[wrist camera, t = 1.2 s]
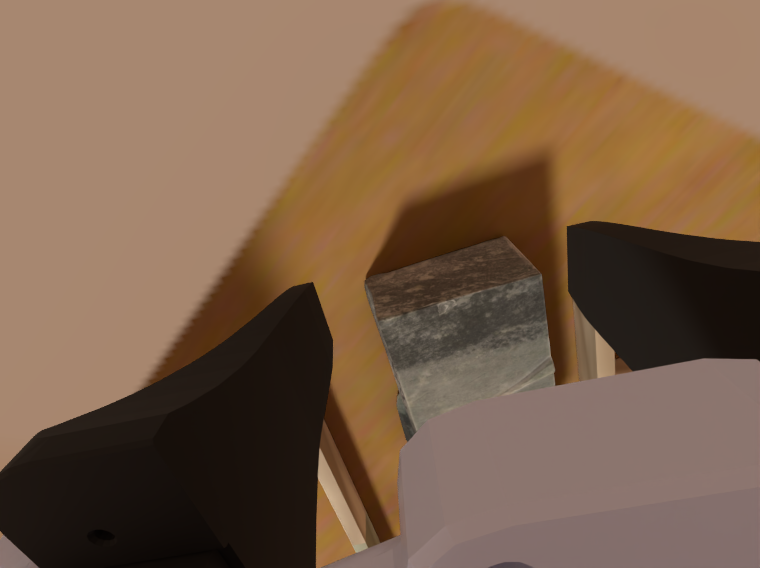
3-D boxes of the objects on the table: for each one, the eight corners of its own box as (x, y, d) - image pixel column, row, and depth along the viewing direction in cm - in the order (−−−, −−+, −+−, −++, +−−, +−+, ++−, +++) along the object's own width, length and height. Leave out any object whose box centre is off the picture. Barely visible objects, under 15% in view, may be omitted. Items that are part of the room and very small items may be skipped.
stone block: (412, 447, 29) (421, 517, 24) (350, 274, 23) (346, 321, 18) (536, 419, 28) (570, 485, 23) (506, 231, 22) (543, 269, 17)
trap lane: (381, 570, 35) (382, 603, 33) (281, 363, 25) (272, 389, 23) (665, 512, 33) (687, 543, 30) (677, 260, 23) (711, 279, 21)
